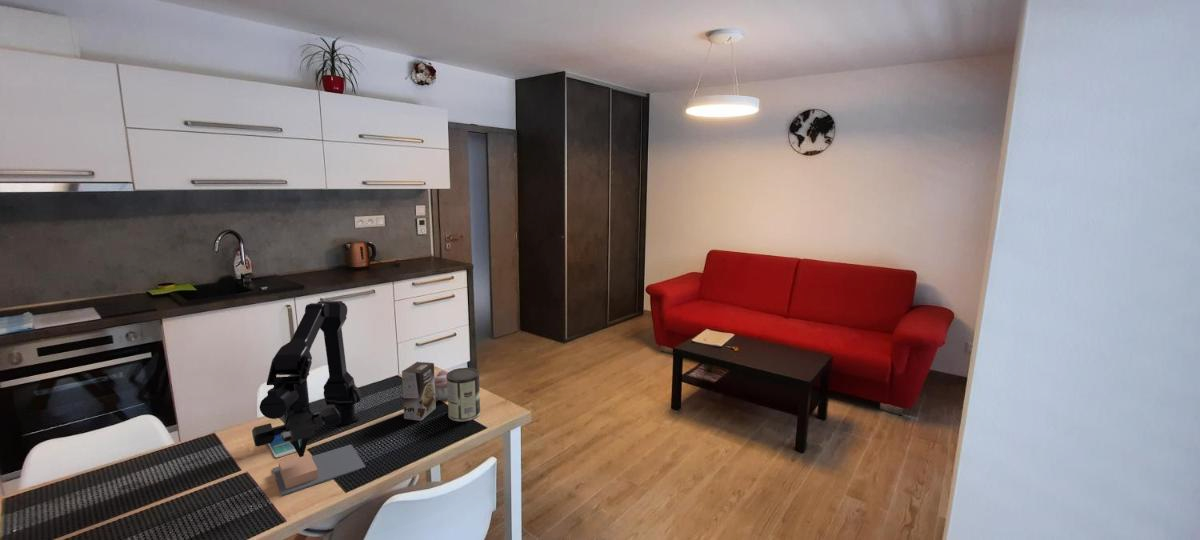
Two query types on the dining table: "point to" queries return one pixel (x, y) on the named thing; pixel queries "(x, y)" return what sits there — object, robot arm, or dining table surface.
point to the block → (298, 470)
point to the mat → (326, 468)
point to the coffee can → (463, 394)
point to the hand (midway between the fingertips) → (301, 456)
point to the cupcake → (441, 385)
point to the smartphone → (281, 447)
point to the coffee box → (418, 390)
